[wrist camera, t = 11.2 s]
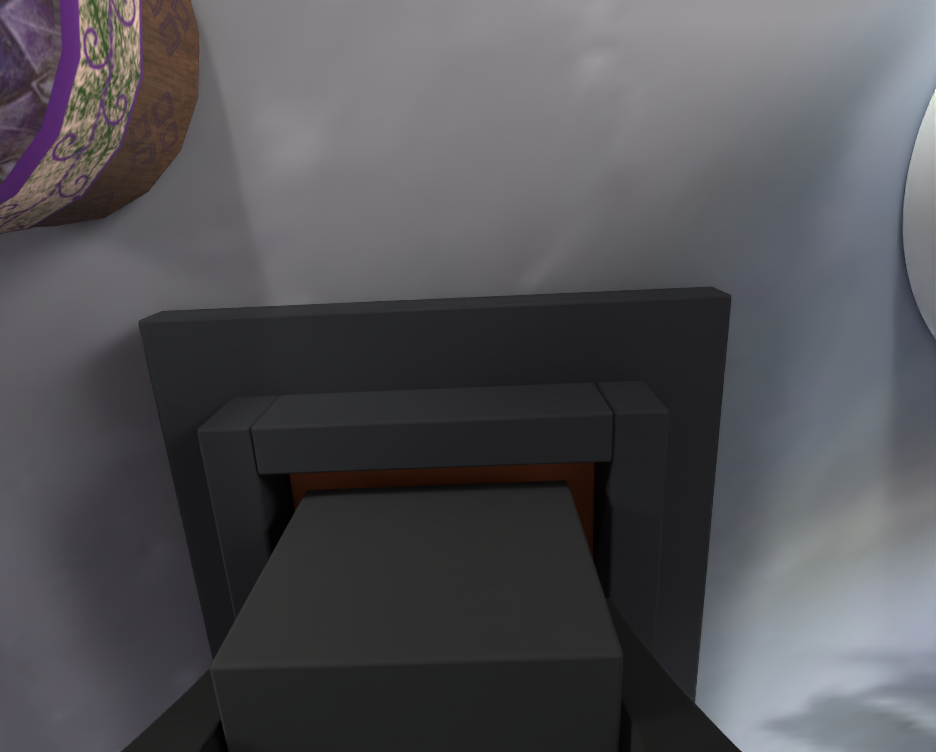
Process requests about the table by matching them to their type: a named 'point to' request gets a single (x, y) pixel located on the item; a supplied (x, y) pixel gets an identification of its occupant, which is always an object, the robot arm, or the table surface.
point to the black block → (425, 628)
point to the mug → (90, 104)
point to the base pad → (455, 427)
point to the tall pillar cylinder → (922, 218)
